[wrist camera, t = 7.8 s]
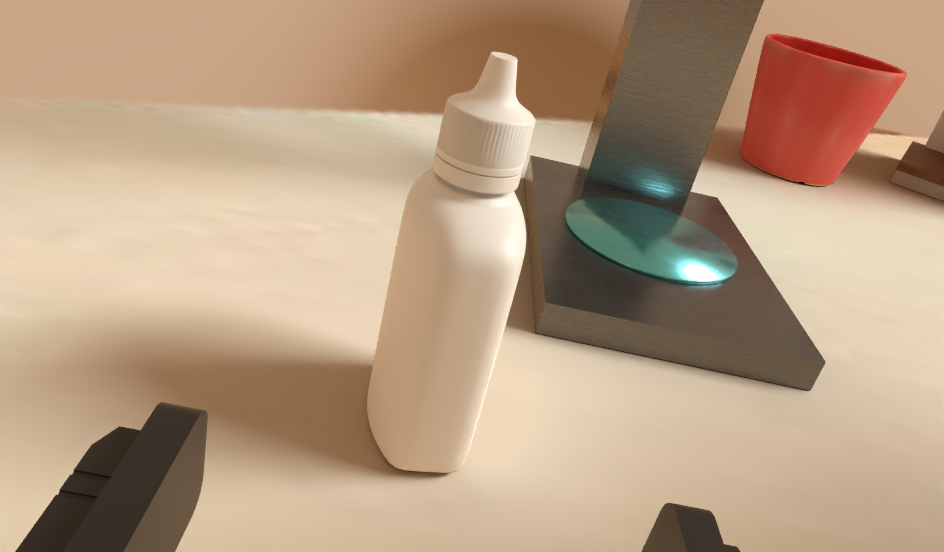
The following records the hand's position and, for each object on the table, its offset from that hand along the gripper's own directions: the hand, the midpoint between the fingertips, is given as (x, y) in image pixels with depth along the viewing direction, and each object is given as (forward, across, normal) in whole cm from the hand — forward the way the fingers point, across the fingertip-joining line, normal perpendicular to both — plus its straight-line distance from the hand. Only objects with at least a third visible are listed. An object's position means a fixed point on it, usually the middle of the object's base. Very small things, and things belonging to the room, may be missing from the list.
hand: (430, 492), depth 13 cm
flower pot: (+51, -27, +7) cm, 58 cm away
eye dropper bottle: (+10, 0, +7) cm, 12 cm away
